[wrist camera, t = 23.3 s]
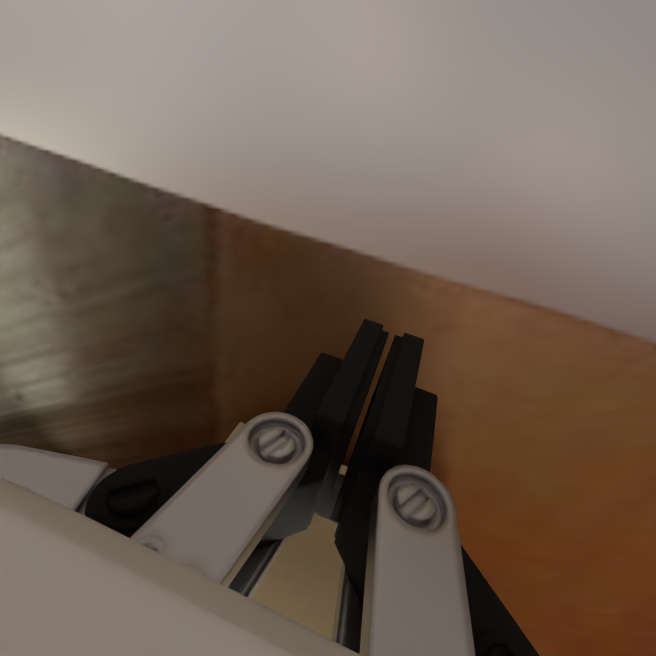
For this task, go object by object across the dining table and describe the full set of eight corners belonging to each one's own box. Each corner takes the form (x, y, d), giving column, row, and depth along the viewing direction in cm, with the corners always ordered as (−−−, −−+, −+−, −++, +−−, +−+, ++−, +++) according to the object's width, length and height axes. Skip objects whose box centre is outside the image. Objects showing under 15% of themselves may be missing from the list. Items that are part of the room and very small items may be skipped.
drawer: (248, 351, 18) (103, 502, 11) (498, 447, 16) (526, 711, 9) (224, 555, 29) (143, 700, 22) (372, 628, 27) (339, 814, 20)
